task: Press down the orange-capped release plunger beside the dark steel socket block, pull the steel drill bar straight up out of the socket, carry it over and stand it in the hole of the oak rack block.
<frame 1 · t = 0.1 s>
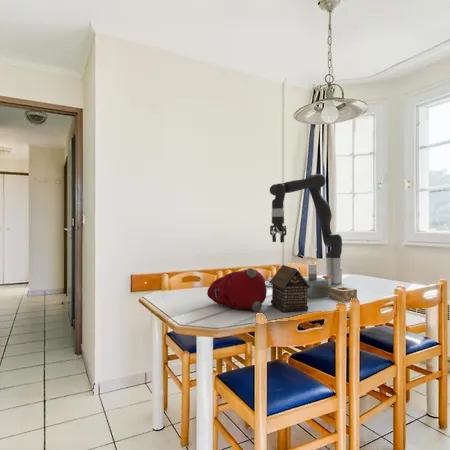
hand: (278, 242, 211), 29 cm above the table, tool pointing down, fingers open, 8 cm apart
rack: (343, 297, 185), on the table
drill: (312, 289, 193), point 3 cm above the table, touching socket
release plunger: (327, 281, 197), point 7 cm above the table, slide at 0.0 cm
mask: (240, 306, 169), on the table
model building: (289, 307, 166), on the table
socket: (312, 295, 193), on the table
figurine: (291, 288, 216), on the table
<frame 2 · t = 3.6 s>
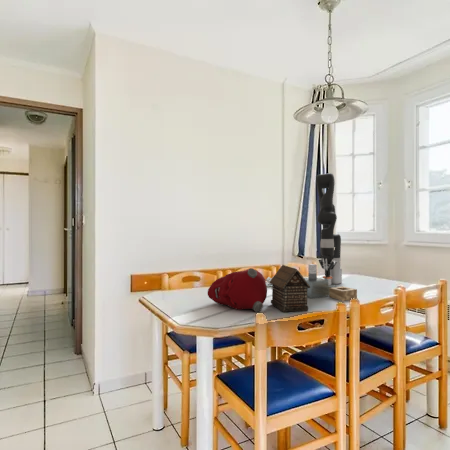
hand: (327, 276, 197), 10 cm above the table, tool pointing down, fingers closed
release plunger: (327, 281, 197), point 7 cm above the table, slide at 0.3 cm, touching gripper
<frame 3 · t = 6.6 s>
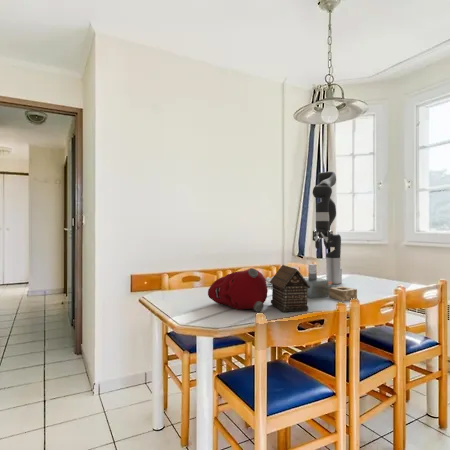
hand: (322, 248, 195), 26 cm above the table, tool pointing down, fingers open, 8 cm apart
release plunger: (327, 286, 197), point 4 cm above the table, slide at 3.3 cm
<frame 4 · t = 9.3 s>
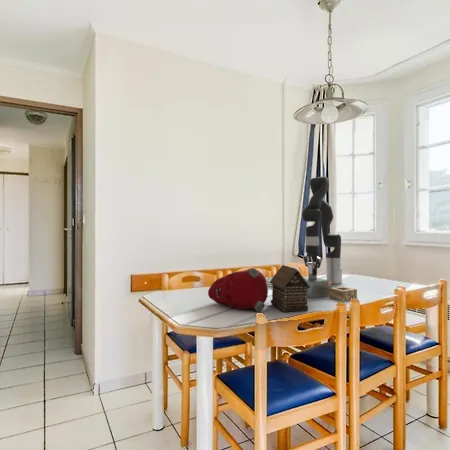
hand: (312, 274, 193), 12 cm above the table, tool pointing down, fingers closed on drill, 3 cm apart
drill: (312, 289, 193), point 4 cm above the table, touching gripper, socket
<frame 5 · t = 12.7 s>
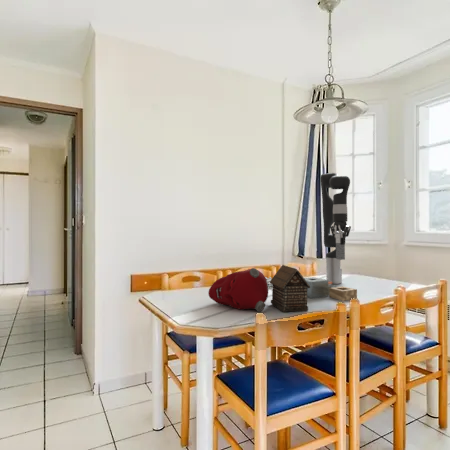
hand: (340, 244, 185), 29 cm above the table, tool pointing down, fingers closed on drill, 3 cm apart
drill: (340, 259, 185), point 21 cm above the table, touching gripper
when the fingers open (10 cm above the table, at t = 16.1 s): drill drops 1 cm, resting in rack.
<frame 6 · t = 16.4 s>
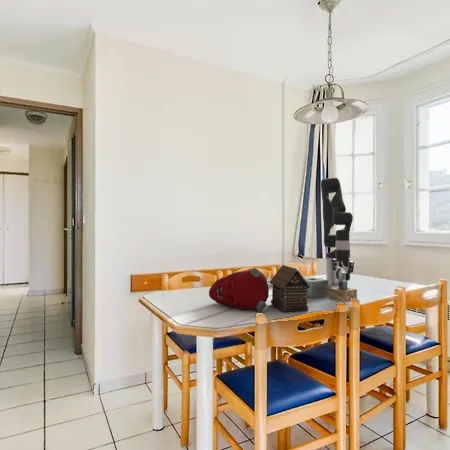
hand: (342, 279, 185), 10 cm above the table, tool pointing down, fingers open, 6 cm apart
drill: (342, 297, 185), resting in rack
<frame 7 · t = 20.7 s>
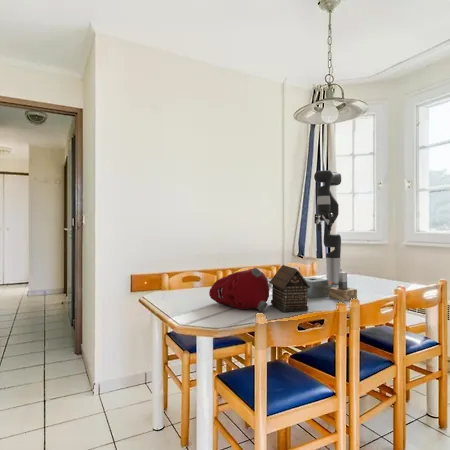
hand: (324, 230, 204), 36 cm above the table, tool pointing down, fingers open, 8 cm apart
at the end: release plunger slide at 3.3 cm; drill 0.1 cm off-centre on the rack, point 0.0 cm above the rack's base; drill tilted 0° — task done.
